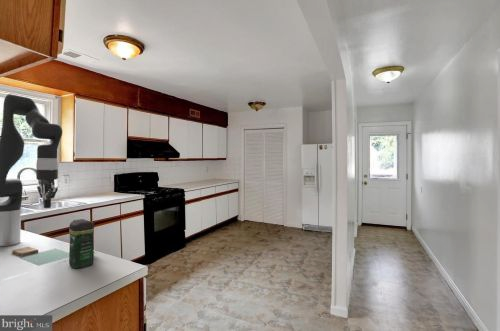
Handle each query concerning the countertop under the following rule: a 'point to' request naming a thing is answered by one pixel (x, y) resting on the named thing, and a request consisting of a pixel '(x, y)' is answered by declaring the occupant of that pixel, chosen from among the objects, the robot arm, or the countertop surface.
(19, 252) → the slab
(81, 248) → the coffee jar
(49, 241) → the countertop surface
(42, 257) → the mat
